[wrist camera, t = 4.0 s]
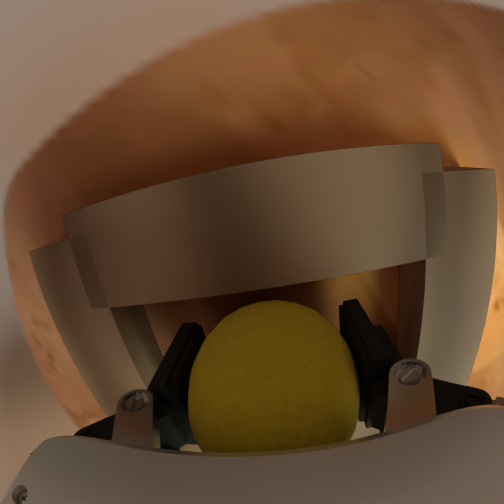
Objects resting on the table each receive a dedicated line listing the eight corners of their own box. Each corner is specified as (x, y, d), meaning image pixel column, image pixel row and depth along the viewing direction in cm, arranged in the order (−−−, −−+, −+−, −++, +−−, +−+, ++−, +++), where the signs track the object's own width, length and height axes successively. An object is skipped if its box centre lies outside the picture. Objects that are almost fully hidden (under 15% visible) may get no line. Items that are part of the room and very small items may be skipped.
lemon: (343, 273, 11) (429, 417, 4) (321, 373, 13) (346, 514, 5) (213, 264, 12) (130, 408, 4) (213, 366, 13) (174, 506, 5)
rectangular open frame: (458, 146, 9) (491, 144, 7) (441, 383, 13) (457, 408, 10) (56, 220, 12) (23, 231, 9) (142, 421, 15) (130, 446, 13)
